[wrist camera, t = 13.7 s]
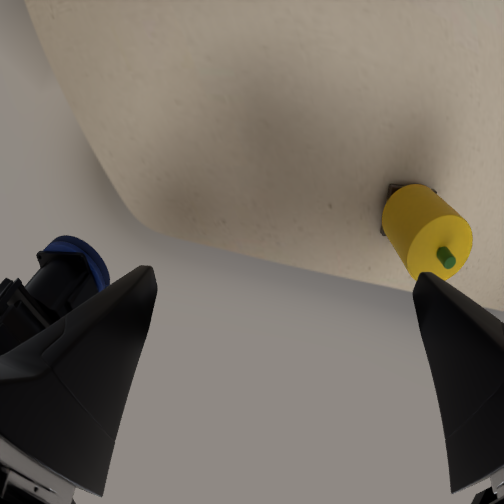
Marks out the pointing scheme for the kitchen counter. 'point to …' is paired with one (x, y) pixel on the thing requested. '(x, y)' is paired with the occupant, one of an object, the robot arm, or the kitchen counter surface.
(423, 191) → the pepper
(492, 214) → the kitchen counter surface
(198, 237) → the kitchen counter surface
